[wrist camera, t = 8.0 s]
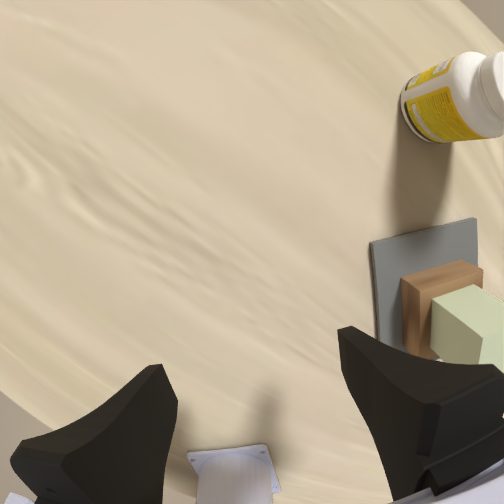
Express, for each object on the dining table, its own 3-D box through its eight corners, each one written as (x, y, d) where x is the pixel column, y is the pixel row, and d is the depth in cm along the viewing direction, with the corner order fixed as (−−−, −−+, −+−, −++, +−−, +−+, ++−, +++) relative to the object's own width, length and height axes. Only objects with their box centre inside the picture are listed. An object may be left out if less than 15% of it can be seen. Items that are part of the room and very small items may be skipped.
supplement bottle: (451, 152, 20) (543, 152, 10) (394, 130, 20) (482, 111, 10) (456, 91, 19) (541, 68, 9) (401, 66, 18) (479, 20, 9)
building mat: (468, 341, 24) (471, 343, 23) (378, 375, 24) (381, 379, 24) (472, 217, 21) (476, 218, 21) (369, 242, 22) (372, 244, 21)
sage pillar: (470, 330, 20) (515, 368, 14) (430, 346, 20) (472, 392, 14) (473, 283, 19) (526, 315, 13) (431, 298, 19) (482, 338, 13)
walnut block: (458, 323, 23) (477, 338, 20) (402, 344, 23) (418, 363, 20) (461, 259, 21) (483, 269, 18) (400, 277, 22) (419, 291, 19)
